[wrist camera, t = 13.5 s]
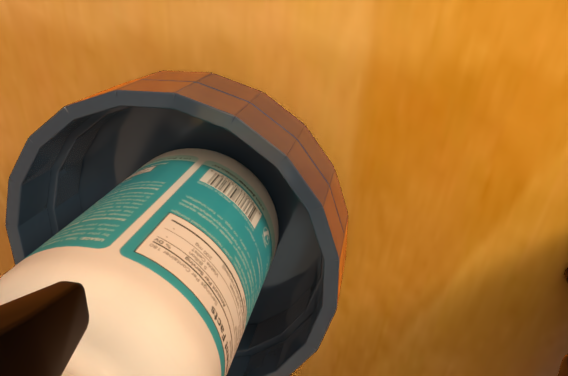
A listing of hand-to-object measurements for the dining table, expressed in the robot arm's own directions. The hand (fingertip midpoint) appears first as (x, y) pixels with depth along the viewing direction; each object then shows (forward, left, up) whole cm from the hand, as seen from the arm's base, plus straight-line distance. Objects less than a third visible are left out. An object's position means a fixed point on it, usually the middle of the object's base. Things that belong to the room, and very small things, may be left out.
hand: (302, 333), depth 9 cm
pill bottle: (+3, +7, -13) cm, 15 cm away
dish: (+3, +8, -13) cm, 16 cm away
